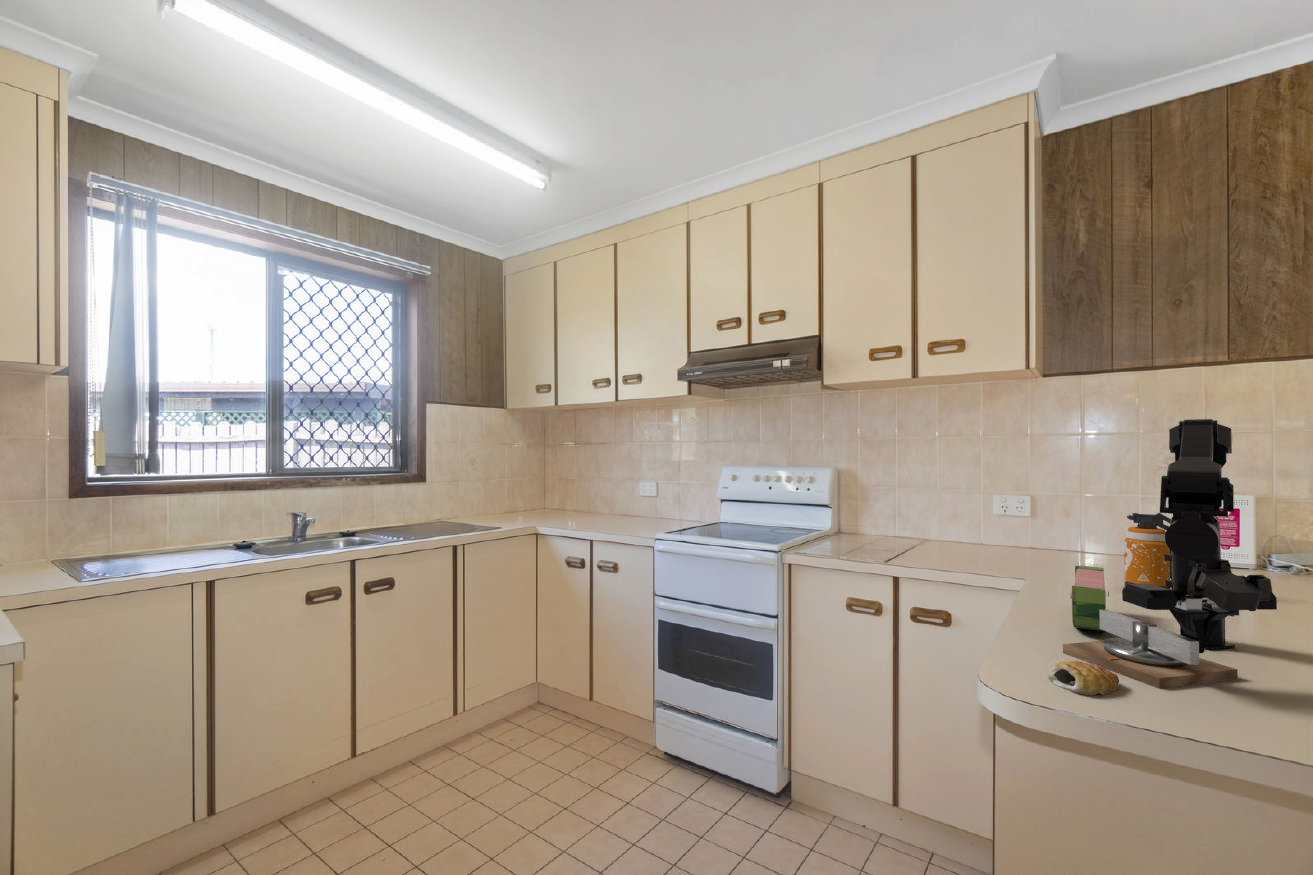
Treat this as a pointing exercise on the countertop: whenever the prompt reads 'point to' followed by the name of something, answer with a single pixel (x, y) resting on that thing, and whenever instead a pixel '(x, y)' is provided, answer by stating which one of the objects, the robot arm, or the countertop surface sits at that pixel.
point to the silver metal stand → (1147, 642)
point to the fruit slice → (1088, 597)
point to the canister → (1147, 551)
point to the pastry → (1083, 678)
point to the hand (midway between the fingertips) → (1198, 652)
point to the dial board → (1151, 667)
